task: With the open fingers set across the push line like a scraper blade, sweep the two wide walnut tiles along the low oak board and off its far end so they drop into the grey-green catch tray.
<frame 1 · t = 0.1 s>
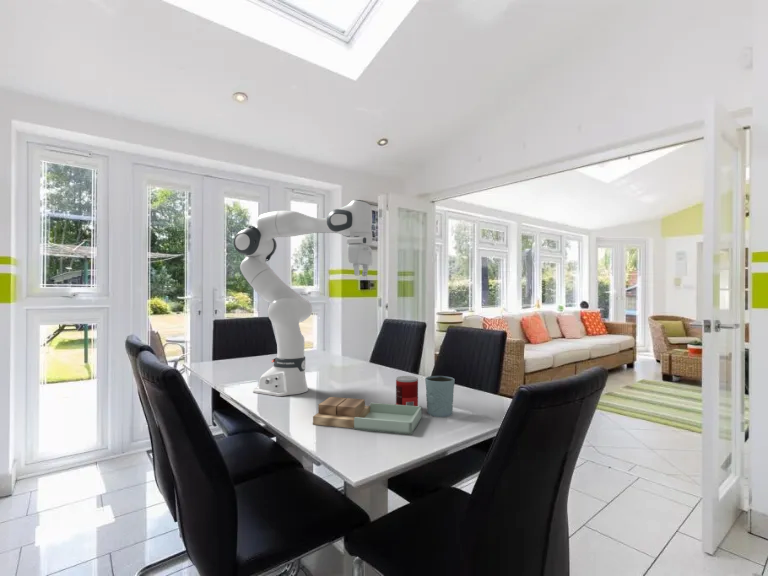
hand: (361, 275, 167), 48 cm above the table, fingers open, 8 cm apart
canned food: (406, 409, 150), on the table
tray: (389, 422, 134), on the table
teal plant pot: (439, 413, 145), on the table
board: (342, 418, 138), on the table
tile 2: (351, 411, 138), point 2 cm above the table, touching board
tile 1: (332, 410, 139), point 2 cm above the table, touching board
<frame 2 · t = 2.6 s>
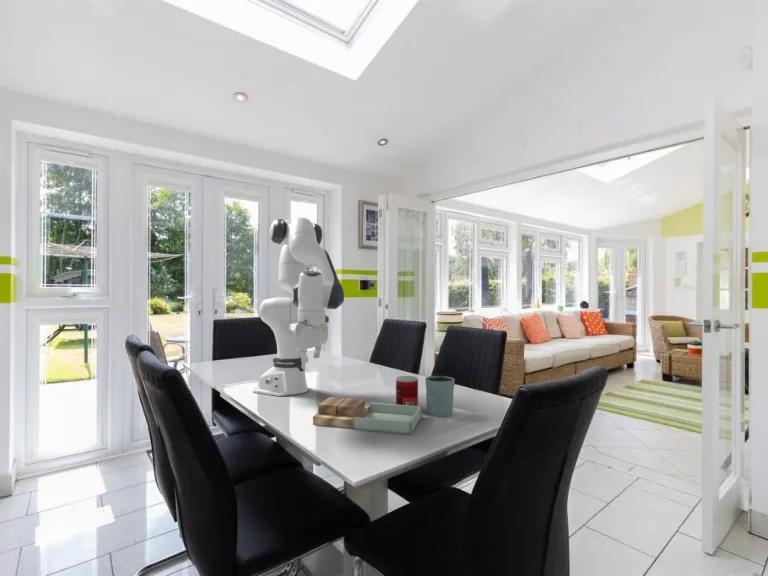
hand: (310, 360, 141), 19 cm above the table, fingers open, 8 cm apart
nothing on the table moved.
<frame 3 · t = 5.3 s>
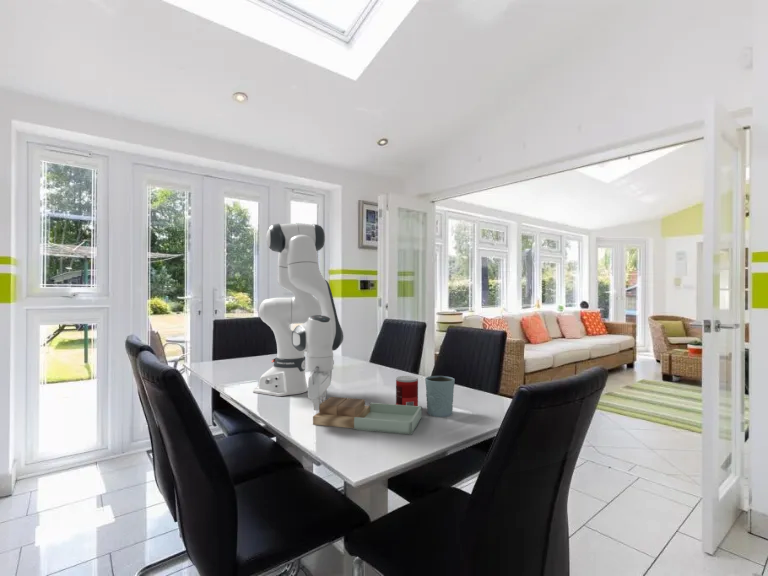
hand: (319, 405, 140), 4 cm above the table, fingers open, 8 cm apart
tile 1: (333, 410, 139), point 3 cm above the table, touching board, gripper
everything else where it was.
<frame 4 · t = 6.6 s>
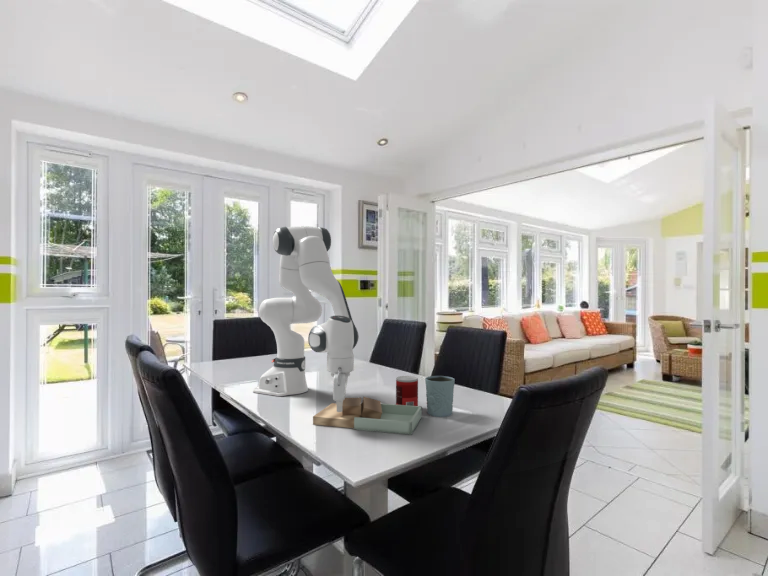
hand: (340, 407, 138), 4 cm above the table
tile 2: (369, 412, 138), point 2 cm above the table, tilted 18°
tile 1: (352, 410, 139), point 3 cm above the table, touching gripper
everything else where it was.
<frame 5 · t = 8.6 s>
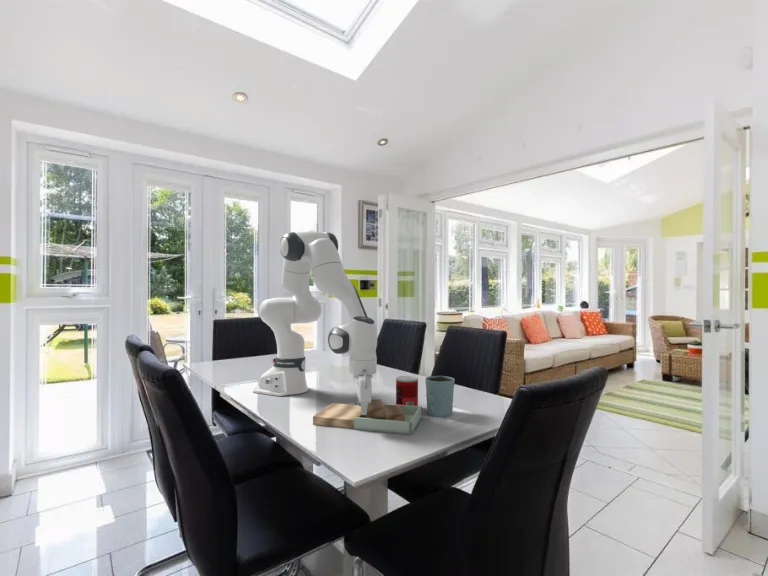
hand: (362, 409, 136), 4 cm above the table
tile 2: (392, 419, 136), point 1 cm above the table, touching tile 1, tray
tile 1: (373, 412, 137), point 2 cm above the table, touching board, gripper, tile 2
everything else where it was.
when the fingers open (4 cm above the table, at t = 9.7 s): tile 1 stays where it is, resting on board, tile 2.
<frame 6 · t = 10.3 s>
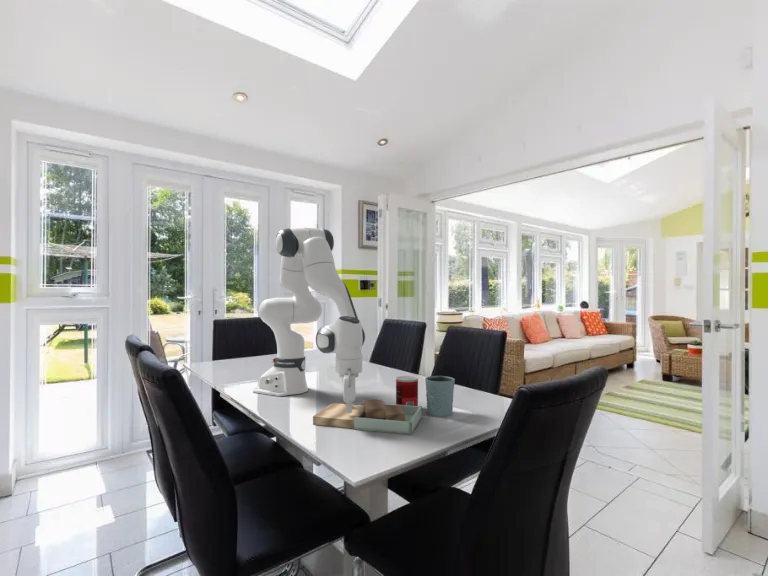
hand: (348, 408, 138), 4 cm above the table, fingers open, 8 cm apart
tile 1: (373, 413, 137), point 2 cm above the table, touching board, tile 2
everything else where it was.
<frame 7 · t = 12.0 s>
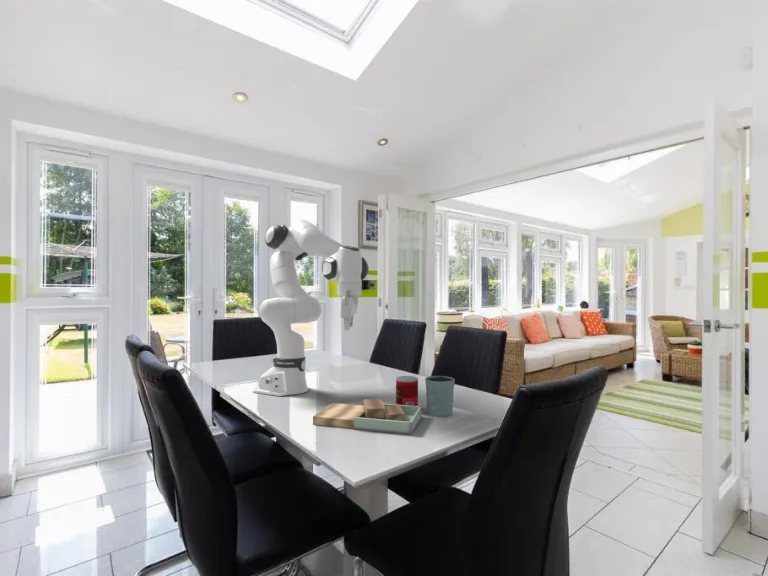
hand: (348, 328, 153), 28 cm above the table, fingers open, 8 cm apart
nothing on the table moved.
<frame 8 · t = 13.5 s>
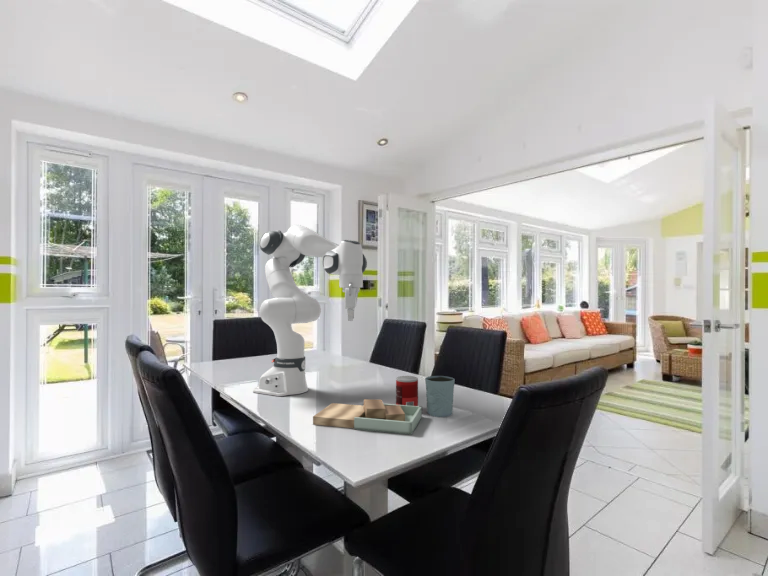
hand: (350, 319, 158), 31 cm above the table, fingers open, 8 cm apart
nothing on the table moved.
at the end: tile 2 inside the target area on the tray (2.3 cm from its centre), point 0.6 cm above the tray's base; tile 1 inside the target area on the tray (5.7 cm from its centre), point 2.3 cm above the tray's base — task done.
